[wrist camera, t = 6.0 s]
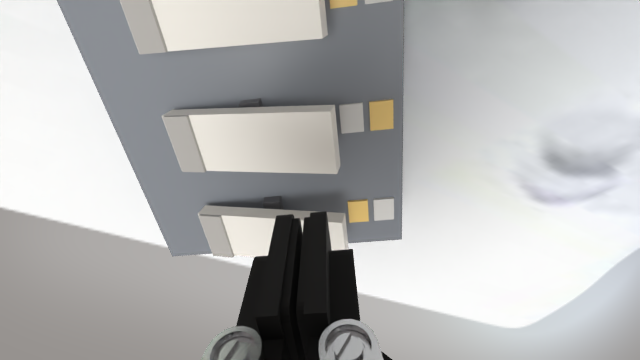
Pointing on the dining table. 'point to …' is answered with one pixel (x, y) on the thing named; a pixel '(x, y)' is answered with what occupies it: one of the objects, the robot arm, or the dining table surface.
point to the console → (259, 91)
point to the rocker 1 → (221, 23)
